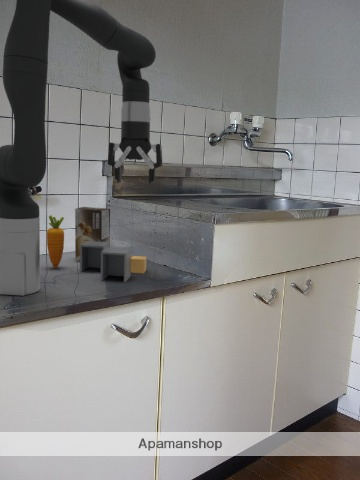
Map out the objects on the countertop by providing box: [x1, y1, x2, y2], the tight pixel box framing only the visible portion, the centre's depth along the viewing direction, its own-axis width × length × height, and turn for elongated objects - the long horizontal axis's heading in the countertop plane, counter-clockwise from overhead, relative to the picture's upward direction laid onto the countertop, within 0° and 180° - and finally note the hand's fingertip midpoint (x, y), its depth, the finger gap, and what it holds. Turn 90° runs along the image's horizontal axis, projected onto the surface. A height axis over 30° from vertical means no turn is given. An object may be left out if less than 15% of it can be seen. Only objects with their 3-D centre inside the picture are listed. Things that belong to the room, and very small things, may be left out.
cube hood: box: [100, 247, 132, 283], centre depth 129 cm, size 6×6×8 cm
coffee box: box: [74, 206, 111, 262], centre depth 149 cm, size 9×6×16 cm
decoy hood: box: [79, 241, 109, 273], centre depth 138 cm, size 6×6×8 cm
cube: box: [131, 255, 147, 274], centre depth 138 cm, size 4×4×4 cm
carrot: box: [46, 214, 65, 269], centre depth 137 cm, size 5×5×15 cm
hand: (135, 182), depth 132 cm, fingers open, 8 cm apart
